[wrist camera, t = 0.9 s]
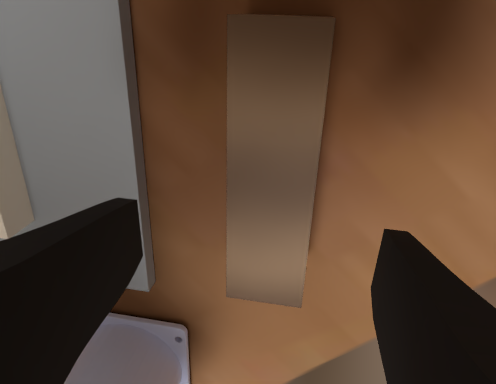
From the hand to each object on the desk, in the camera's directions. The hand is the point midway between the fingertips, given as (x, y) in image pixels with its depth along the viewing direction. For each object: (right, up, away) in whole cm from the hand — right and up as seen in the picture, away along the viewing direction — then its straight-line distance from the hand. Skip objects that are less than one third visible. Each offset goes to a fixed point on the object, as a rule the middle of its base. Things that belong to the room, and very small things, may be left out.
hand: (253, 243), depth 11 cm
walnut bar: (+1, +4, +7) cm, 8 cm away
